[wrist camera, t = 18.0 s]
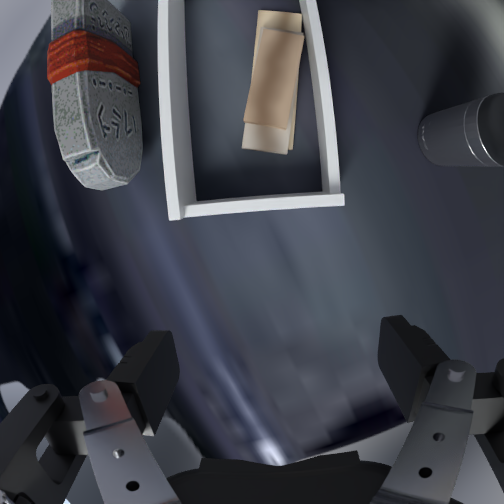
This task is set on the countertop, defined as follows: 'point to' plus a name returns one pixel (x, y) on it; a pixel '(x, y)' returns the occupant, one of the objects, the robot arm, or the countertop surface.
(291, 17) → the bottom offcut
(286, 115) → the top offcut
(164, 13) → the white open box
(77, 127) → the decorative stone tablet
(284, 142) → the middle offcut
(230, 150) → the countertop surface
